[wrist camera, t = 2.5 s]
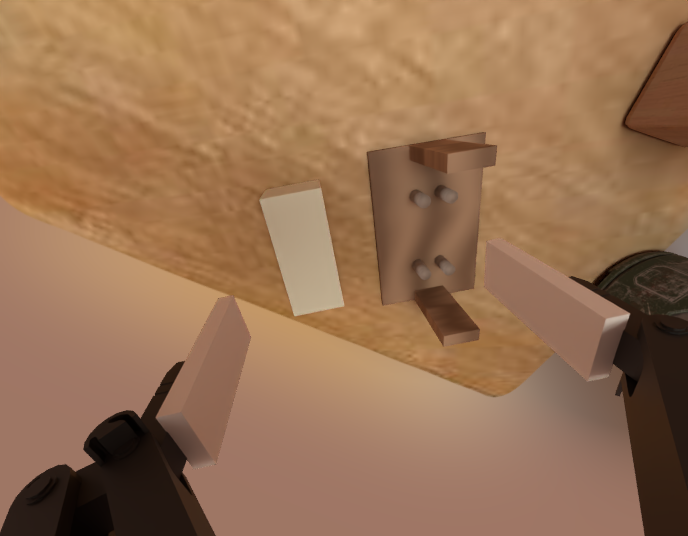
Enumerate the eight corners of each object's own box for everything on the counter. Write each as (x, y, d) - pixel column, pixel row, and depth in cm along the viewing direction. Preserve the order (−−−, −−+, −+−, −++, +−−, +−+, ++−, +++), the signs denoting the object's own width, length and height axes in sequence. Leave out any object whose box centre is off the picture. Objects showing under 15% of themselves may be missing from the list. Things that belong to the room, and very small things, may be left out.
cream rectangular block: (295, 293, 38) (294, 316, 34) (265, 188, 32) (259, 199, 28) (340, 285, 39) (344, 306, 34) (319, 178, 32) (320, 187, 28)
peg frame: (382, 303, 40) (403, 354, 32) (367, 151, 31) (391, 163, 22) (472, 286, 41) (518, 332, 32) (483, 132, 32) (551, 136, 23)
